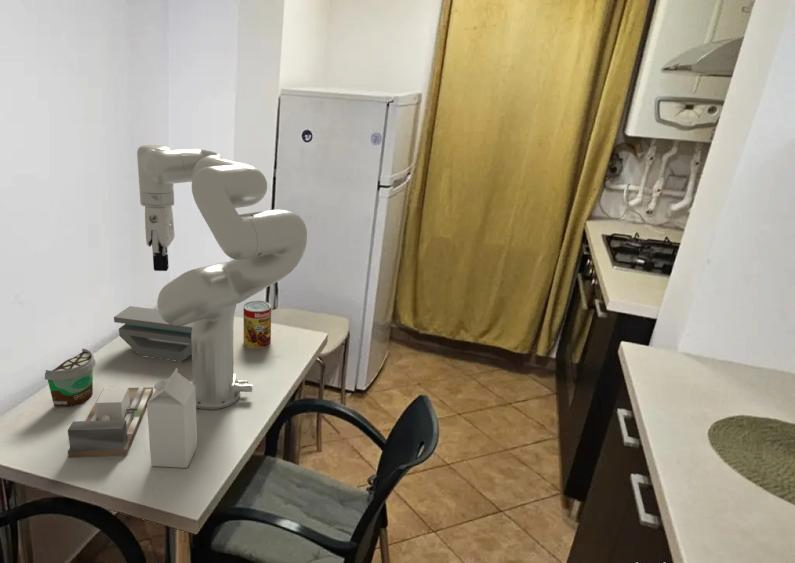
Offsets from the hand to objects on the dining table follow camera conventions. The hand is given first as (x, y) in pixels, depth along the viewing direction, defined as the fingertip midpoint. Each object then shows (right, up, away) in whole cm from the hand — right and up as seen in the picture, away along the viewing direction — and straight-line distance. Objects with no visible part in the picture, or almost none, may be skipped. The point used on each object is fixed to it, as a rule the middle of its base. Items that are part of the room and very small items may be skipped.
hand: (161, 269), depth 140 cm
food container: (-15, -31, -9) cm, 36 cm away
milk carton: (+13, -40, -25) cm, 48 cm away
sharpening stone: (-5, -23, +16) cm, 28 cm away
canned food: (+18, -21, +26) cm, 38 cm away
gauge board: (-4, -34, -16) cm, 38 cm away
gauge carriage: (-3, -33, -16) cm, 36 cm away
